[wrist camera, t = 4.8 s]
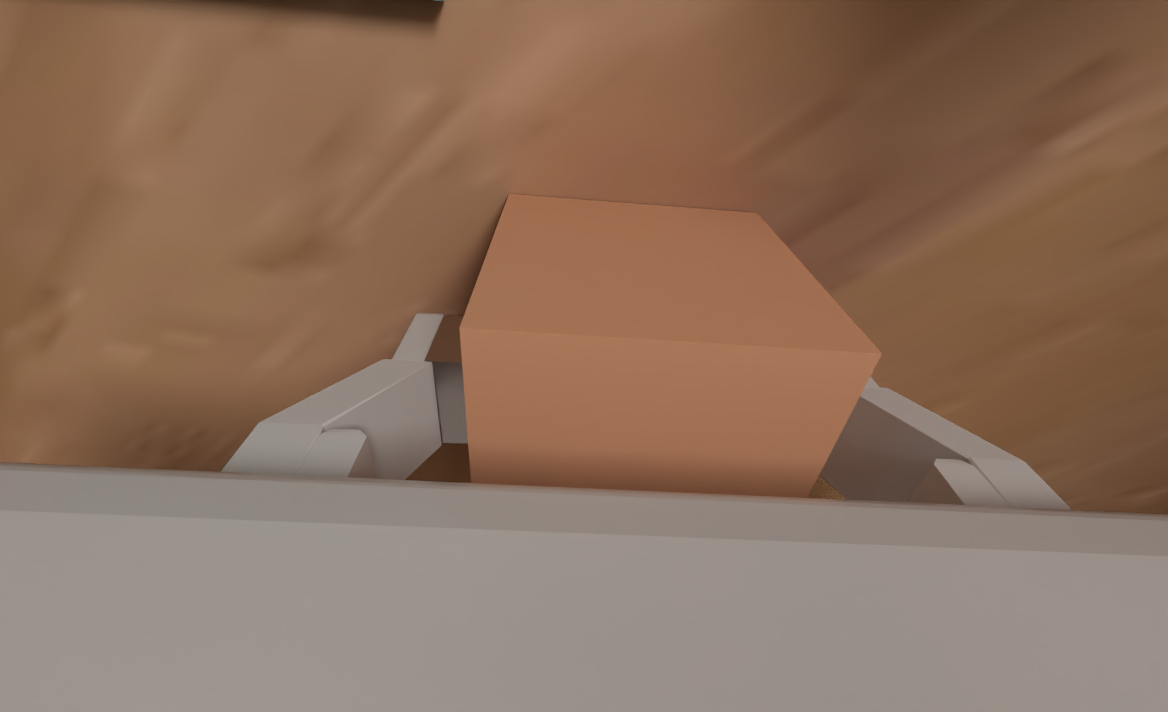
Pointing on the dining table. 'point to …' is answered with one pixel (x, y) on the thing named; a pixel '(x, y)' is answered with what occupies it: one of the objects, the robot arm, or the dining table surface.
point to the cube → (653, 353)
